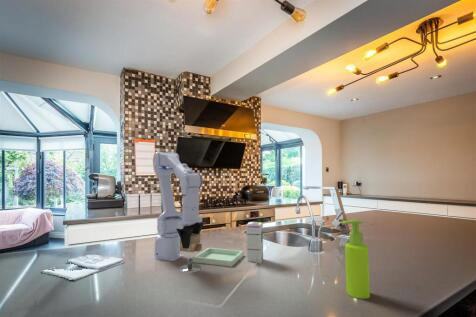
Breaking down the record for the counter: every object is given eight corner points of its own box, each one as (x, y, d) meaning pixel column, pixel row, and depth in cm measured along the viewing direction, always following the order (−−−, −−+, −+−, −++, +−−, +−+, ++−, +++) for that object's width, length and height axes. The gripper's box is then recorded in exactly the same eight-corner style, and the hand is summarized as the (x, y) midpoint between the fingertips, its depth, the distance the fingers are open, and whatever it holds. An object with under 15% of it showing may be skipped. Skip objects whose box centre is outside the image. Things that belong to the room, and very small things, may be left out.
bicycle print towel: (125, 264, 96) (125, 258, 96) (71, 284, 77) (71, 277, 78) (92, 257, 104) (92, 252, 104) (36, 274, 85) (36, 267, 86)
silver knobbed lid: (173, 272, 85) (173, 261, 86) (185, 264, 93) (185, 254, 93) (194, 275, 83) (194, 263, 83) (205, 267, 90) (205, 256, 91)
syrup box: (261, 263, 94) (261, 224, 95) (246, 262, 95) (246, 223, 97) (263, 259, 100) (263, 221, 101) (248, 258, 101) (248, 221, 102)
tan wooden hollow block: (179, 250, 87) (180, 236, 87) (187, 246, 92) (187, 233, 92) (196, 252, 85) (196, 237, 85) (203, 248, 90) (203, 234, 90)
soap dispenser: (339, 289, 72) (336, 219, 74) (362, 288, 73) (359, 218, 74) (349, 299, 66) (347, 222, 68) (374, 298, 67) (371, 222, 69)
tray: (192, 263, 94) (192, 257, 95) (208, 253, 107) (208, 247, 107) (231, 268, 89) (231, 261, 90) (243, 257, 102) (243, 251, 102)
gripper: (190, 209, 81) (189, 252, 80) (209, 205, 95) (209, 241, 94) (171, 209, 84) (170, 250, 83) (193, 204, 97) (192, 240, 96)
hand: (190, 246), depth 89 cm, fingers closed on tan wooden hollow block, 5 cm apart
